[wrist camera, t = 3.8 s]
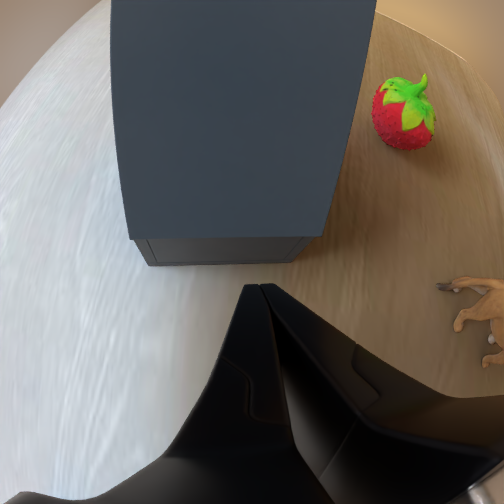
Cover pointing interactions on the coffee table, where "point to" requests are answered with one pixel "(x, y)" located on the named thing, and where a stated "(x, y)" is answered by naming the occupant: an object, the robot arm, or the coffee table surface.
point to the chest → (221, 250)
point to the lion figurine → (483, 310)
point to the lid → (233, 112)
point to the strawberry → (403, 113)
